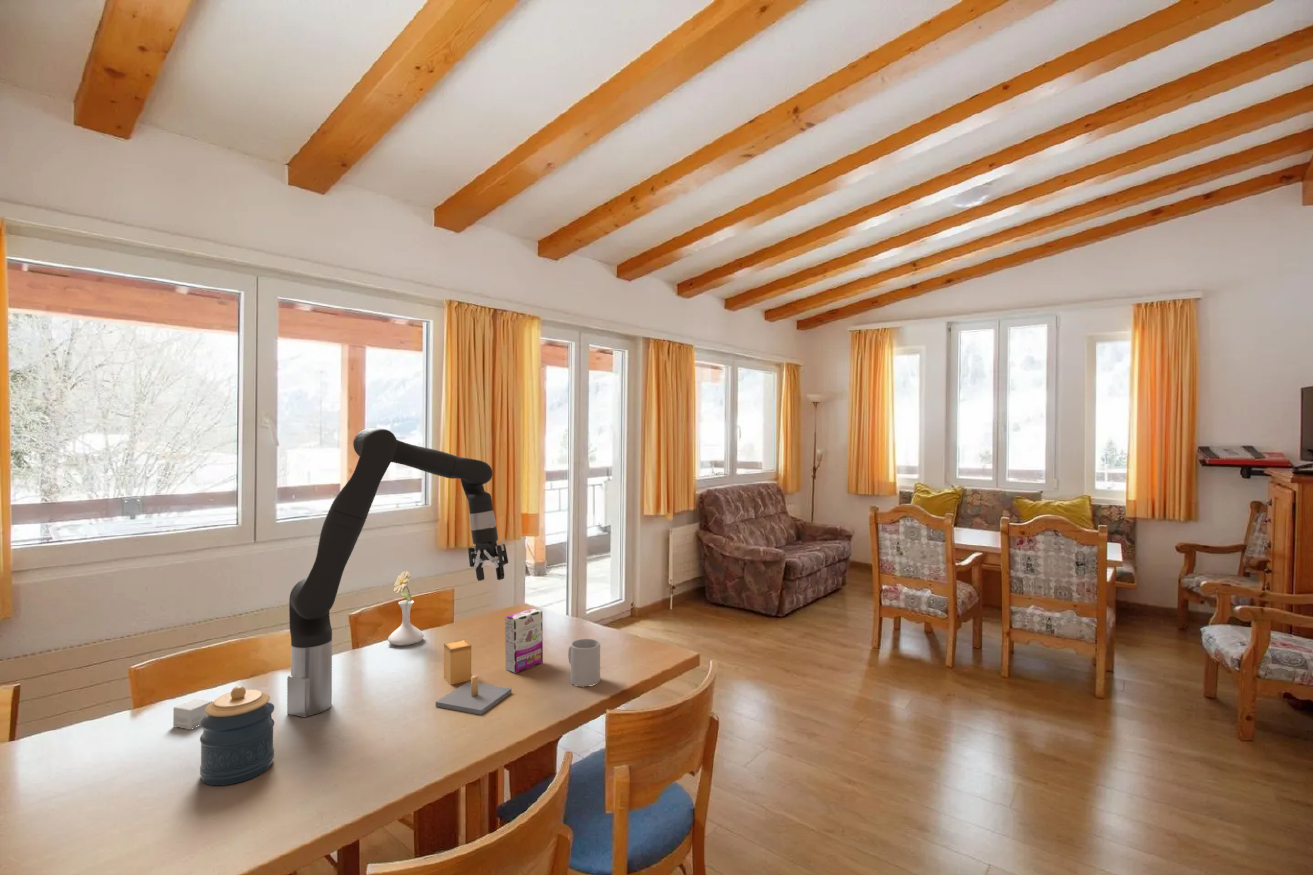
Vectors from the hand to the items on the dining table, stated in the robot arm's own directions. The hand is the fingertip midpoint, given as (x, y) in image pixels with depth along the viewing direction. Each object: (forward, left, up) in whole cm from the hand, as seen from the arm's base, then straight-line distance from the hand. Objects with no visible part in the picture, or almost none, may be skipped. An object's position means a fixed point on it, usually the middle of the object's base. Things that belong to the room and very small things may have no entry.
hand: (490, 579), depth 187 cm
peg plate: (-21, -9, -27) cm, 35 cm away
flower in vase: (+8, +39, -27) cm, 48 cm away
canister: (-67, +17, -27) cm, 74 cm away
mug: (+1, -30, -27) cm, 40 cm away
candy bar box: (+4, -9, -27) cm, 29 cm away
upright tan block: (-11, +4, -27) cm, 29 cm away
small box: (-56, +47, -27) cm, 78 cm away
